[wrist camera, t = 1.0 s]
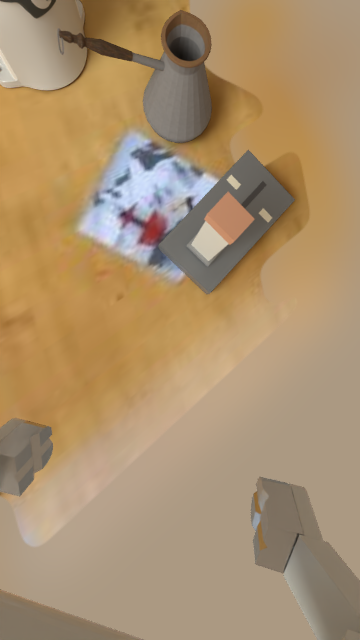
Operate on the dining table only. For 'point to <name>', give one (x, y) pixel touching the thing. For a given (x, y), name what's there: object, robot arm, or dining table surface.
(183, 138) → the coffee pot
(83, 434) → the dining table surface
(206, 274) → the fader console
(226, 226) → the fader knob
